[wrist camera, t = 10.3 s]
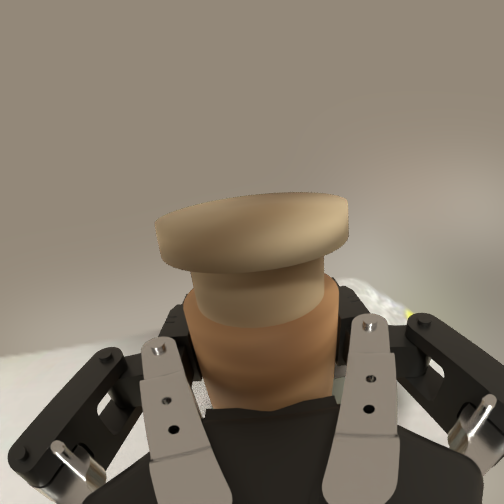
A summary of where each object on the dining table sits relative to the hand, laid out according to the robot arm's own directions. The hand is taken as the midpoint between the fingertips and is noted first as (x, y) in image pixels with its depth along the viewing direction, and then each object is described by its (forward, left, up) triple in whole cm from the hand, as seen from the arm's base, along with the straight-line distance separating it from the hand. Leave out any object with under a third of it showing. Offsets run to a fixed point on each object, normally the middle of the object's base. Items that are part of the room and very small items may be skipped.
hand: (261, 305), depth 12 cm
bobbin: (0, -3, -7) cm, 7 cm away
